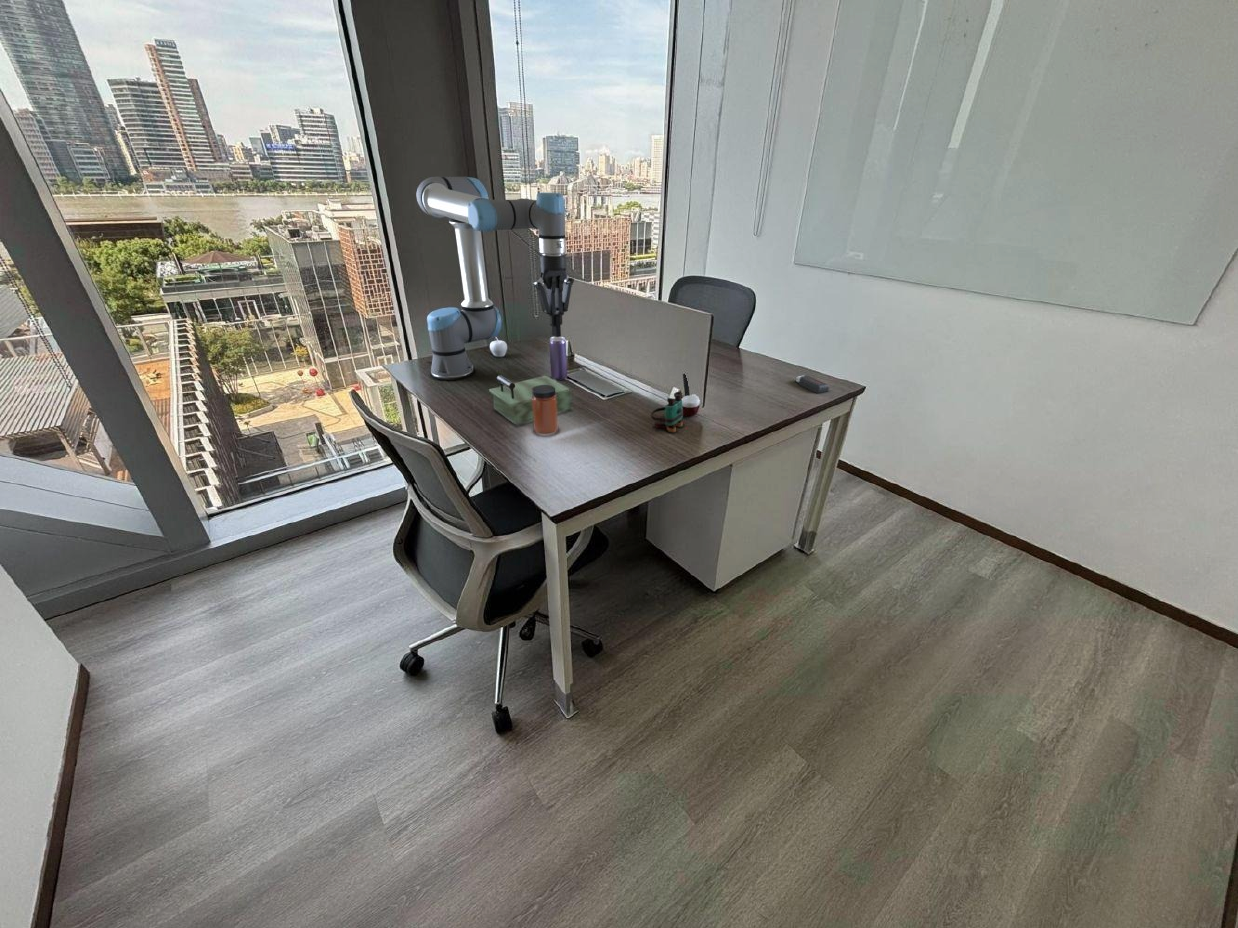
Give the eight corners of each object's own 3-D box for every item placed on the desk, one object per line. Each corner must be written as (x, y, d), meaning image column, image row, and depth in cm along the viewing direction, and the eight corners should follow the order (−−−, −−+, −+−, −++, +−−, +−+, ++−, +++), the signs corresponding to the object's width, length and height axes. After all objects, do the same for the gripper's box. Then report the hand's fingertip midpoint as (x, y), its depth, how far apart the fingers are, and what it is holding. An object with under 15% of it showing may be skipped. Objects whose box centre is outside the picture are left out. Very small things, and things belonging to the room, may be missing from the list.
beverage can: (564, 381, 180) (562, 341, 173) (549, 380, 181) (546, 340, 174) (569, 376, 185) (567, 336, 178) (554, 374, 186) (552, 335, 179)
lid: (511, 406, 143) (509, 388, 140) (489, 391, 153) (487, 373, 150) (569, 390, 154) (569, 373, 152) (545, 377, 164) (544, 361, 161)
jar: (530, 429, 146) (526, 387, 139) (550, 423, 150) (547, 382, 143) (542, 438, 141) (539, 395, 134) (562, 431, 145) (560, 389, 138)
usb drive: (817, 393, 174) (819, 386, 173) (793, 382, 184) (795, 375, 182) (828, 391, 176) (830, 384, 175) (804, 380, 186) (805, 373, 184)
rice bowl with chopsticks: (698, 420, 153) (702, 384, 147) (678, 419, 154) (681, 383, 147) (698, 408, 161) (701, 373, 155) (679, 407, 162) (682, 372, 156)
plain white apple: (493, 352, 208) (491, 334, 204) (510, 353, 208) (508, 334, 203) (488, 357, 202) (486, 338, 198) (505, 358, 202) (503, 339, 197)
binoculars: (658, 387, 150) (688, 391, 145) (659, 419, 155) (688, 424, 150) (644, 396, 144) (674, 401, 139) (645, 429, 149) (675, 435, 144)
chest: (516, 426, 147) (514, 406, 144) (494, 410, 157) (492, 390, 154) (570, 410, 158) (569, 391, 154) (546, 396, 168) (545, 377, 164)
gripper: (539, 257, 134) (544, 342, 146) (579, 254, 141) (580, 335, 153) (526, 254, 139) (532, 336, 151) (565, 251, 146) (567, 329, 158)
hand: (556, 335), depth 152 cm, fingers closed
